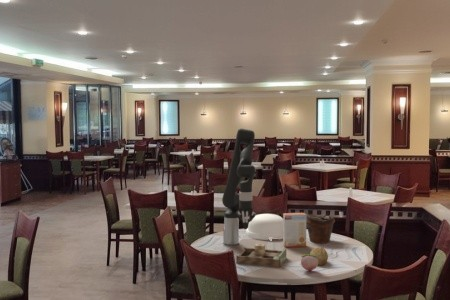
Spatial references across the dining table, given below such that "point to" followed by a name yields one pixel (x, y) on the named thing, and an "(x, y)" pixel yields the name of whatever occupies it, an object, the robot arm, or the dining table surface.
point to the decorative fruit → (309, 261)
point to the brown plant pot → (319, 228)
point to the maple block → (260, 249)
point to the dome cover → (265, 227)
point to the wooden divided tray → (262, 257)
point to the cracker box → (294, 229)
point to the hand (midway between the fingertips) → (245, 228)
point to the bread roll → (320, 255)
